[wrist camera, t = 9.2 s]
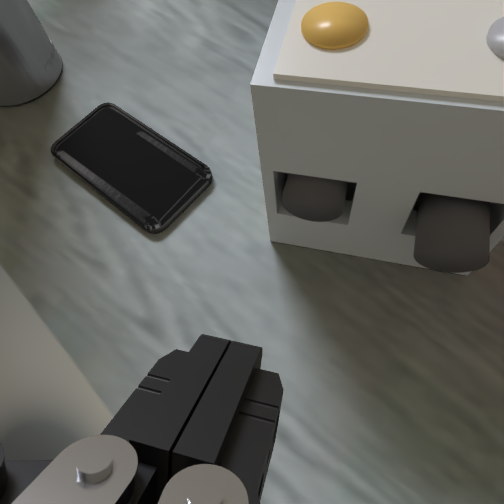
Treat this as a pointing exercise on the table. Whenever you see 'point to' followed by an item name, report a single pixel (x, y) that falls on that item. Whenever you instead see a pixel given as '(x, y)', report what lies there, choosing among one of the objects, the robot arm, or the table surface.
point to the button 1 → (314, 197)
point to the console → (381, 115)
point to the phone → (132, 166)
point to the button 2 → (452, 233)
